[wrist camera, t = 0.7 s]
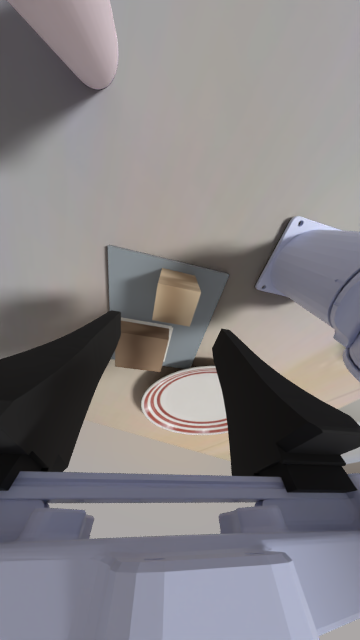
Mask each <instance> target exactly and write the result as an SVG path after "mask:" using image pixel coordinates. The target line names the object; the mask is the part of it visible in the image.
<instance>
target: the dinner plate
mask: <svg viewBox="0 0 360 640" xmlns="http://www.w3.org/2000/svg"><path fill="white" fill-rule="evenodd" d="M141 408H142V411H143V413H144V415H145V416H146V417H147V419H148V420H149V421H151V422H152V423H153V424H155V425H157V426H158V427H161V428H163V429H165V430H169V431H172V432H176V433H181V434H189V435H214V434H222V433H227V432H228V425H227V418H226V411H225V405H224V399H223V394H222V389H221V386H220V382H219V378H218V375H217V371H216V367H215V366H201V367H194V368H189V369H185V370H180V371H177V372H174V373H172V374H169V375H167V376H165V377H163V378H161V379H159V380H158V381H156V382H155V383H153V384H152V385H151V386H150V387H149V388H148V389H147V390H146V392H145V393H144V395H143V397H142V400H141Z"/></svg>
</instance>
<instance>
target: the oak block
mask: <svg viewBox="0 0 360 640" xmlns="http://www.w3.org/2000/svg"><path fill="white" fill-rule="evenodd" d="M200 295H201V291H200V288H199V285H198V282H197V279H196V277H195V275H190V274H186V273H182V272H177V271H173V270H169V269H164V268H162V270H161V274H160V277H159V281H158V286H157V292H156V299H155V305H154V311H153V317H152V320H155V321H160V322H166V323H172V324H177V325H183V326H189V327H190V324H191V321H192V318H193V315H194V312H195V309H196V306H197V303H198V301H199V298H200Z"/></svg>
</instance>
